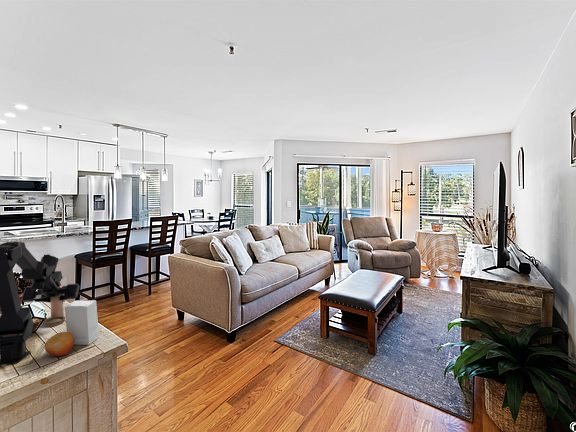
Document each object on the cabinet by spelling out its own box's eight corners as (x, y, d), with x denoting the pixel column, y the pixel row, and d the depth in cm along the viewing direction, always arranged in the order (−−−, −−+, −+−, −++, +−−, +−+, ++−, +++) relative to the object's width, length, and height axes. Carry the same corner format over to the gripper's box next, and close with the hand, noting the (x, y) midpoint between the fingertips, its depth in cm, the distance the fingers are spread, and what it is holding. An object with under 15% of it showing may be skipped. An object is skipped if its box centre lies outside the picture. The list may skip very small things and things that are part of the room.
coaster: (58, 326, 120) (58, 322, 120) (39, 326, 119) (39, 323, 119) (68, 318, 127) (68, 315, 127) (50, 319, 126) (50, 316, 126)
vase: (59, 318, 127) (58, 287, 125) (48, 319, 126) (47, 287, 125) (65, 314, 131) (64, 284, 130) (55, 314, 130) (54, 284, 129)
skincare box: (99, 337, 112) (98, 299, 111) (88, 346, 106) (87, 306, 105) (77, 337, 112) (76, 299, 111) (65, 345, 106) (64, 305, 105)
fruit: (84, 341, 106) (74, 328, 101) (69, 363, 99) (57, 350, 95) (64, 340, 107) (53, 327, 102) (47, 361, 100) (35, 348, 96)
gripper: (77, 265, 126) (87, 283, 137) (24, 268, 120) (38, 285, 131) (70, 289, 119) (81, 305, 130) (13, 293, 113) (30, 309, 124)
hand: (58, 301), depth 129 cm, fingers closed on vase, 4 cm apart
